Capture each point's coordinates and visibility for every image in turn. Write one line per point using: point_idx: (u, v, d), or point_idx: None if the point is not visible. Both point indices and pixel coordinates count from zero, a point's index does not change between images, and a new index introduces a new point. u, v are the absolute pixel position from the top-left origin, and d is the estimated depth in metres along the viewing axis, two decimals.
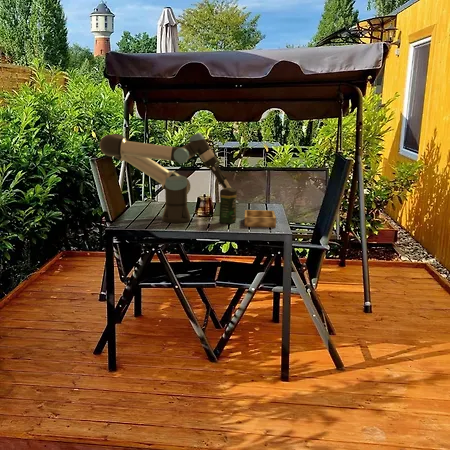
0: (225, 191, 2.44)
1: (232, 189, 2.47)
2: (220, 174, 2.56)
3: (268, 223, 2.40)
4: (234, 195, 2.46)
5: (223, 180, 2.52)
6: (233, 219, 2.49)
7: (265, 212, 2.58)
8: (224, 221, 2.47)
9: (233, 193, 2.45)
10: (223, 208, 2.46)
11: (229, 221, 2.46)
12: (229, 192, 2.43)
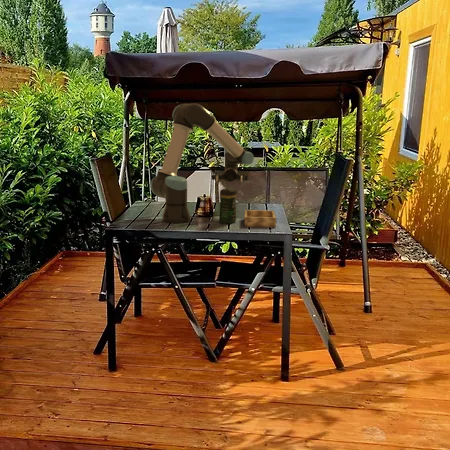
0: (225, 191, 2.44)
1: (232, 189, 2.47)
2: (239, 179, 2.67)
3: (268, 223, 2.40)
4: (234, 195, 2.46)
5: None
6: (233, 219, 2.49)
7: (265, 212, 2.58)
8: (224, 221, 2.47)
9: (233, 193, 2.45)
10: (223, 208, 2.46)
11: (229, 221, 2.46)
12: (229, 192, 2.43)
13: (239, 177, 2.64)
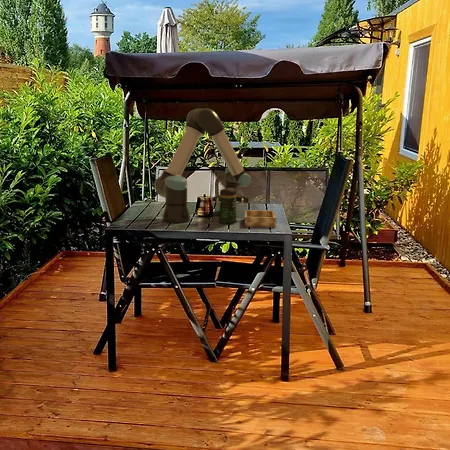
0: (225, 191, 2.44)
1: (232, 189, 2.47)
2: None
3: (268, 223, 2.40)
4: (234, 195, 2.46)
5: None
6: (233, 219, 2.49)
7: (265, 212, 2.58)
8: (224, 221, 2.47)
9: (233, 193, 2.45)
10: (223, 208, 2.46)
11: (229, 221, 2.46)
12: (229, 192, 2.43)
13: (240, 199, 2.60)
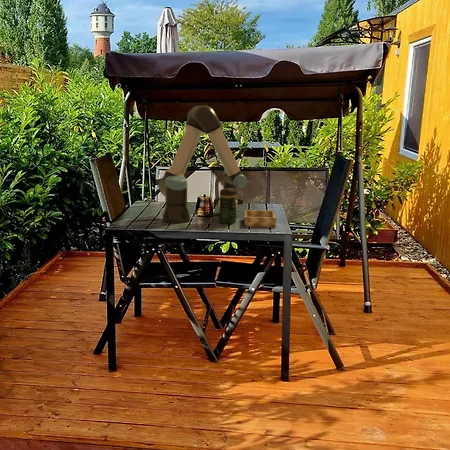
0: (225, 191, 2.44)
1: (232, 189, 2.47)
2: None
3: (268, 223, 2.40)
4: (234, 195, 2.46)
5: (242, 204, 2.52)
6: (233, 219, 2.49)
7: (265, 212, 2.58)
8: (224, 221, 2.47)
9: (233, 193, 2.45)
10: (223, 208, 2.46)
11: (229, 221, 2.46)
12: (229, 192, 2.43)
13: None
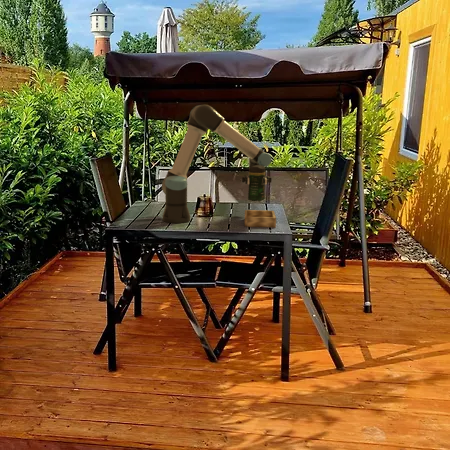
0: (254, 168, 2.41)
1: (261, 166, 2.44)
2: None
3: (268, 223, 2.40)
4: (263, 172, 2.43)
5: (270, 182, 2.49)
6: (262, 197, 2.46)
7: (265, 212, 2.58)
8: (253, 199, 2.44)
9: (262, 170, 2.42)
10: (252, 185, 2.44)
11: (258, 199, 2.44)
12: (259, 169, 2.41)
13: None
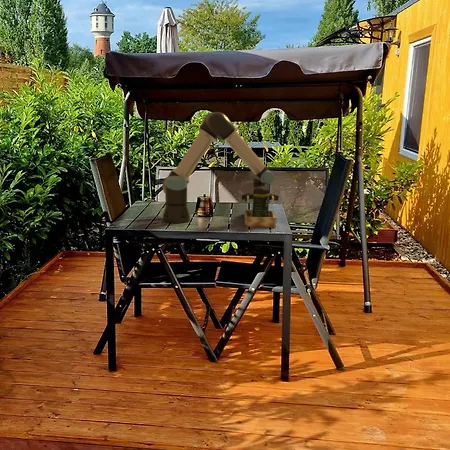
0: (259, 190, 2.43)
1: (265, 188, 2.46)
2: (269, 199, 2.55)
3: (268, 223, 2.40)
4: (267, 193, 2.45)
5: None
6: None
7: None
8: None
9: (266, 192, 2.44)
10: (256, 207, 2.45)
11: None
12: (263, 191, 2.42)
13: (269, 197, 2.53)
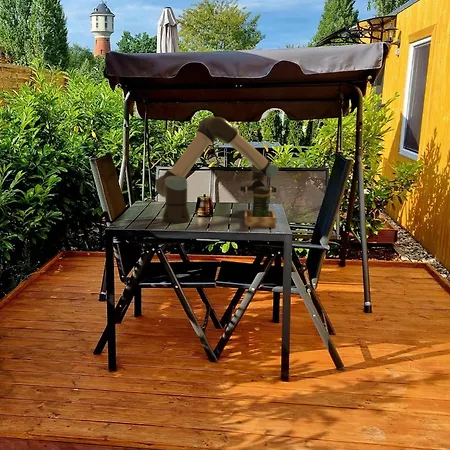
0: (259, 190, 2.43)
1: (265, 188, 2.46)
2: None
3: (268, 223, 2.40)
4: (267, 193, 2.45)
5: None
6: None
7: None
8: None
9: (267, 192, 2.44)
10: (256, 207, 2.46)
11: None
12: (263, 191, 2.43)
13: None
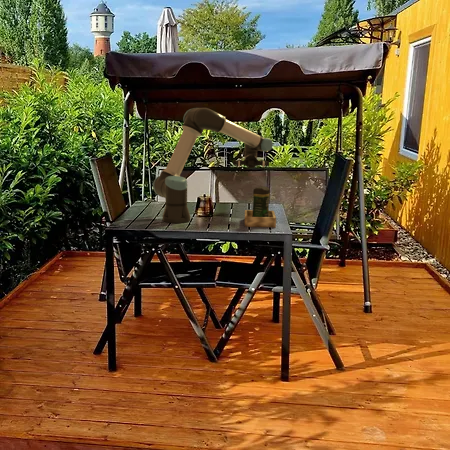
0: (259, 190, 2.43)
1: (265, 188, 2.46)
2: None
3: (268, 223, 2.40)
4: (267, 193, 2.45)
5: (268, 165, 2.64)
6: None
7: None
8: None
9: (267, 192, 2.44)
10: (256, 207, 2.46)
11: None
12: (263, 191, 2.43)
13: (260, 163, 2.65)
